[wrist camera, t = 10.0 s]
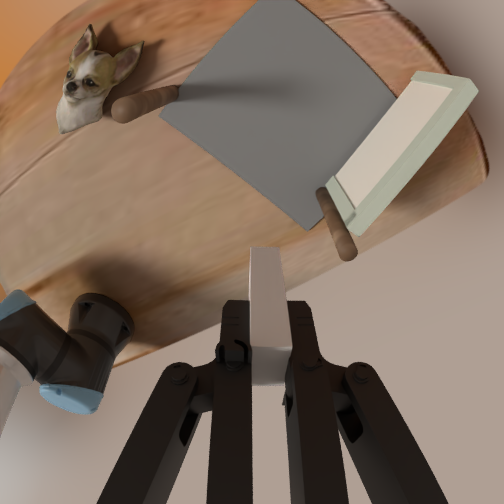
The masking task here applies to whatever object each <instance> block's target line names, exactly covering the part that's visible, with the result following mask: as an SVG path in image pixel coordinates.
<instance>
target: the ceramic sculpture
mask: <svg viewBox="0 0 504 504" xmlns="http://www.w3.org/2000/svg"><path fill="white" fill-rule="evenodd" d="M97 44H98V41H97V38H96V35H95V33H94V30H93V27H92V24H89V25H88V27H87V29H86V32H85V33H84V35H83V36H82V37H81V39H80V40H79V41H78V44H76V45H75V47H74V48H73V50H72V54H71V55H70V57H69V65H70V67H69V70H68V72H67V75H66V77H65V79H64V84H63V96H62V98H61V100H60V101H59V103H58V107H57V111H56V114H57V117H56V118H57V123H58V127H59V133H60V134H65V133H68V132H71V131H74V130H76V129H78V128H81V127H83V126H85V125H88V124H91V123H94V122H97V121H99V120H100V119H101V118H102V105H103V102H104V101H105V98H106V97H107V96H108V94H109V92H110V90H111V88H112V87H113V86H115V85H118V84H120V83H121V82H123V81H124V80H125V79H126V78H127V77H128V76H129V75H130V74H131V72H132V71H133V70H134V68H135V67H136V65H137V64H138V61H139V59H140V57H141V54H142V49H143V45H144V41H141V42H140V43H138V44H136V45H134V46H131V47H128V48H125V49H123V50H122V51H120V52H119V53H118V54H116V56H115V57H114V58H112V56H111V55H109V54H108V53H106V52H105V51H98V50H95V49H96V47H97Z"/></svg>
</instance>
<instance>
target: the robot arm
mask: <svg viewBox="0 0 504 504" xmlns="http://www.w3.org/2000/svg"><path fill="white" fill-rule="evenodd" d="M133 332H134V323H133V321H132V319H131V317H130V315H129V314H128V313H127V311H126V310H125V309H124V308H123V307H121V306H120V305H119V304H118V303H116V302H115V301H113V300H111V299H109V298H107V297H105V296H102V295H99V294H93V293H87V294H83V295H80V296H79V297H78V298H77V299H76V300H75V302H74V304H73V305H72V308H71V312H70V318H69V325H68V331H67V333H66V332H65V331H64V330H63V329H62V328H61V327H60V326H59V325H58V324H57V323H56V322H55V321H54V320H52V319H51V318H50V317H49V316H48V315H47V314H46V313H45V312H44V311H43V310H42V309H41V308H40V307H39V306H38V305H37V304H36V301H33V300H32V299H31V298H30V297H29V296H28V295H27V294H26V293H25V292H24V291H22V290H14V291H13V292H11V293H10V294H9V295H8V296H7V297H6V298H5V299H4V300H3V301H2V302H1V303H0V436H1V434H2V431H3V428H4V426H5V423H6V421H7V418H8V415H9V413H10V411H11V408H12V406H13V404H14V401H15V399H16V397H17V394H18V392H19V390H20V388H21V387H23V386H28V385H31V384H32V382H33V381H34V379H35V380H36V381H38V382H39V383H40V384H41V385H40V387H39V388H40V394H41V396H43V397H44V399H46V400H47V401H48V402H50V403H52V404H53V405H55V406H57V407H59V408H62V409H64V410H67V411H70V412H73V413H77V414H92V413H94V412H95V411H96V410H97V409H98V406H99V404H100V402H101V399H102V398H103V393H104V390H105V387H106V384H107V381H108V378H109V375H110V372H111V369H112V367H113V363H114V361H115V358H116V356H117V355H118V354H119V353H120V352H121V351H122V350H123V349H124V348H125V346H126V345H127V344H128V343H129V342H130V340H131V338H132V335H133ZM215 353H216V358H215V359H214V360H213V361H212V362H210V363H208V364H205V365H202V366H198V367H192V366H191V365H189V364H187V363H182V362H177V363H173V364H171V365H169V366H167V367H166V369H165V370H164V371H163V373H162V375H161V377H160V378H159V380H158V382H157V384H156V386H155V388H154V390H153V392H152V394H151V396H150V398H149V400H148V401H147V403H146V406H145V407H144V409H143V411H142V413H141V415H140V417H139V419H138V421H137V423H136V425H135V427H134V429H133V431H132V433H131V435H130V437H129V439H128V441H127V443H126V445H125V447H124V449H123V451H122V453H121V455H120V457H119V459H118V461H117V463H116V465H115V467H114V469H113V471H112V473H111V475H110V477H109V479H108V481H107V483H106V485H105V487H104V489H103V491H102V493H101V495H100V497H99V500H98V502H97V504H166V503H167V500H168V498H169V495H170V492H171V490H172V488H173V485H174V483H175V480H176V478H177V476H178V473H179V471H180V468H181V465H182V463H183V461H184V458H185V455H186V453H187V450H188V448H189V445H190V443H191V441H192V438H193V436H194V433H195V431H196V428H197V425H198V423H199V420H200V418H201V415H202V413H203V412H208V411H212V423H211V436H210V437H211V438H210V451H209V467H208V483H207V502H206V503H207V504H253V486H252V485H253V484H252V483H253V476H252V474H253V473H252V386H283V385H284V382H285V388H286V390H285V394H284V398H283V403H282V405H285V413H286V429H287V444H288V460H289V476H290V494H291V504H349V501H348V493H347V485H346V478H345V471H344V464H343V458H342V451H341V444H340V438H339V432H338V429H339V431H340V434H341V436H342V438H343V440H344V442H345V445H346V447H347V449H348V451H349V454H350V456H351V458H352V460H353V462H354V465H355V467H356V469H357V471H358V473H359V475H360V478H361V480H362V482H363V485H364V487H365V489H366V491H367V493H368V496H369V498H370V500H371V502H372V504H448V502H447V500H446V498H445V496H444V494H443V492H442V490H441V488H440V486H439V484H438V482H437V480H436V478H435V476H434V474H433V472H432V470H431V468H430V467H429V465H428V463H427V461H426V459H425V457H424V455H423V453H422V452H421V450H420V448H419V446H418V444H417V442H416V441H415V439H414V437H413V435H412V434H411V432H410V430H409V428H408V426H407V424H406V423H405V421H404V419H403V417H402V416H401V414H400V412H399V410H398V408H397V407H396V405H395V403H394V402H393V400H392V398H391V396H390V395H389V393H388V391H387V390H386V388H385V386H384V384H383V383H382V381H381V380H380V378H379V376H378V374H377V373H376V371H375V370H374V368H373V367H372V366H370V365H369V364H367V363H363V362H355V363H352V364H351V365H349V366H348V368H347V367H342V366H338V365H334V364H332V363H329V362H328V361H326V360H325V359H324V358H323V357H322V355H321V353H320V351H319V346H318V341H317V336H316V331H315V326H314V321H313V317H312V312H311V308H310V307H309V306H308V304H307V303H306V302H305V301H287V300H286V292H285V285H284V278H283V270H282V263H281V256H280V249H279V247H250V272H249V301H243V300H228V301H227V302H226V304H225V305H224V307H223V312H222V322H221V333H220V342H219V343H218V344H217V346H216V349H215Z"/></svg>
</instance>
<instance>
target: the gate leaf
mask: <svg viewBox="0 0 504 504" xmlns="http://www.w3.org/2000/svg"><path fill="white" fill-rule="evenodd" d="M411 80H412V81H411V82H410V83H409V85H408V86H407V87H406V89H405V90H404V91H403V92H402V94H401V95H400V96H399V97H398V99H397V100H396V101H395V102H394V104H393V105H392V106H391V107H390V109H389V110H388V111H387V112H386V114H385V115H384V116H383V117H382V119H381V120H380V121H379V122H378V124H377V125H376V126H375V127H374V129H373V130H372V131H371V132H370V134H369V135H368V136H367V137H366V139H365V140H364V141H363V142H362V144H361V145H360V146H359V147H358V148H357V150H356V151H355V152H354V153H353V155H352V156H351V157H350V158H349V160H348V161H347V162H346V163H345V164H344V166H343V167H342V168H341V169H340V171H339V172H338V173H337V174H336V176H335V177H334V176H332V177H331V178H330V180H329V181H328V182H327V183H326V185H325V186H326V188H327V190H328V191H329V193H330V195H331V197H332V199H333V201H334V203H335V205H336V207H337V209H338V211H339V213H340V215H341V217H342V219H343V221H344V223H345V225H346V227H347V229H348V230H349V231H351V232H352V233H354V234H355V235H356V236H358V237H360V236H361V234H362V233H363V232H364V231H365V230H366V229H367V228H368V227H369V226H370V225H371V224H372V222H373V221H374V220H375V219H376V218H377V217H378V216H379V215H380V214H381V212H382V211H383V210H384V209H385V208H386V207H387V206H388V205H389V203H390V202H391V201H392V200H393V199H394V198H395V197H396V195H397V194H398V193H399V192H400V191H401V190H402V188H403V187H404V186H405V185H406V184H407V183H408V181H409V180H410V179H411V178H412V177H413V175H414V174H415V173H416V172H417V171H418V169H419V168H420V167H421V166H422V165H423V163H424V162H425V161H426V160H427V159H428V157H429V156H430V155H431V154H432V152H433V151H434V150H435V149H436V147H437V146H438V145H439V144H440V142H441V141H442V140H443V139H444V137H445V136H446V135H447V133H448V132H449V131H450V130H451V128H452V127H453V126H454V124H455V123H456V122H457V120H458V119H459V118H460V116H461V115H462V114H463V112H464V111H465V110H466V108H467V107H468V106H469V104H470V103H471V102H472V100H473V99H474V97H475V96H476V95H477V93H478V92H479V91H478V89H477V88H476V86H475V85H474V84H473V82H472V81H471V80H470V79H468V78H463V77H457V76H452V75H445V74H439V73H432V72H424V71H416V73H415V74H414V75H413V76H412V78H411Z"/></svg>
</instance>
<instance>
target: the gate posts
mask: <svg viewBox="0 0 504 504" xmlns="http://www.w3.org/2000/svg"><path fill="white" fill-rule="evenodd" d="M178 96H179V91H178V88H177V87H176V86H173V85H170V86H166V87H161V88H157V89H153V90H148V91H144V92H141V93H137V94H133V95H129V96H126V97H122V98H119V99H117V100H116V101H115V102H114V103H113V105H112V108H111V114H112V117H113V118H114V120H115V121H117V122H118V123H122V124H124V123H128V122H130V121H132V120H134V119H136V118H138V117H140V116H142V115H144V114H147V113H149V112H151V111H153V110H155V109H158V108H160V107H162V106H164V105H167V104H169V103H172V102H174V101H175V100H176V99H177V98H178ZM315 195H316V198H317V200H318V202H319V205H320V207H321V210H322V212H323V215H324V217H325V220H326V222H327V225H328V227H329V230H330V233H331V235H332V238H333V240H334V243H335V246H336V248H337V251H338V254H339V256H340V258H341V260H343V261H351V260H353V259H354V258H355V257H356V256H357V254H358V250H357V248H356V246H355V244H354V242H353V239H352V237H351V235H350V233H349V231H348V229H347V227H346V225H345V223H344V221H343V219H342V217H341V215H340V213H339V211H338V209H337V207H336V205H335V203H334V201H333V199H332V197H331V195H330V193H329V191H328V190H327V188H325V187H320V188H318V189H317V190H316V192H315Z"/></svg>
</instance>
